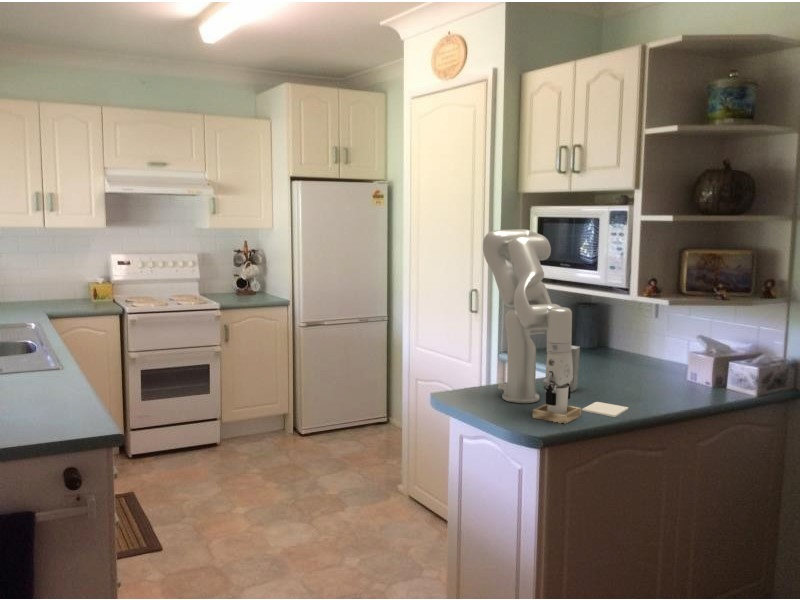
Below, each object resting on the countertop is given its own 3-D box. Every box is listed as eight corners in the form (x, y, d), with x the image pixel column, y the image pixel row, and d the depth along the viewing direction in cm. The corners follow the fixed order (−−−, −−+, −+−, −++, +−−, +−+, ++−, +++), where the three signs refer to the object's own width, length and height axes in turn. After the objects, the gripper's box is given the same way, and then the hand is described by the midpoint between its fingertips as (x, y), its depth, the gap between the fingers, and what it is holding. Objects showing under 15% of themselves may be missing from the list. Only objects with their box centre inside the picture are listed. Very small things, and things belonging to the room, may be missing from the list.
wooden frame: (532, 417, 224) (532, 409, 223) (549, 409, 232) (549, 402, 232) (565, 424, 217) (565, 416, 216) (580, 415, 225) (581, 408, 225)
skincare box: (550, 389, 256) (551, 346, 254) (556, 385, 262) (557, 342, 260) (574, 392, 252) (575, 348, 250) (579, 387, 258) (580, 344, 256)
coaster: (581, 410, 230) (581, 409, 230) (596, 403, 239) (596, 401, 239) (614, 417, 224) (614, 415, 223) (628, 409, 232) (628, 407, 232)
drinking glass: (564, 413, 228) (565, 382, 226) (570, 419, 221) (571, 388, 220) (543, 413, 228) (544, 383, 226) (548, 420, 221) (549, 388, 220)
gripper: (557, 353, 212) (556, 409, 214) (582, 344, 226) (581, 397, 228) (534, 350, 217) (533, 405, 219) (560, 342, 230) (559, 394, 232)
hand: (558, 401), depth 223 cm, fingers open, 9 cm apart
